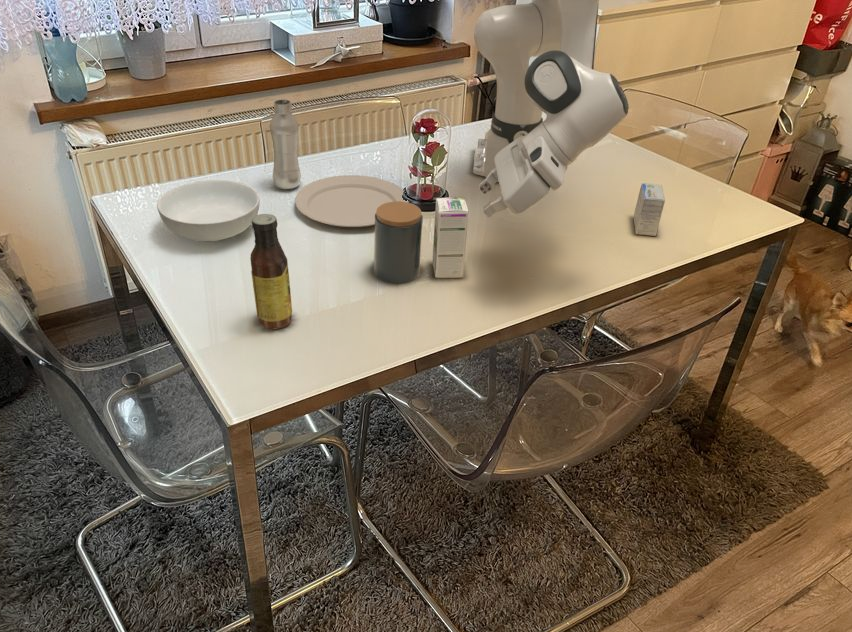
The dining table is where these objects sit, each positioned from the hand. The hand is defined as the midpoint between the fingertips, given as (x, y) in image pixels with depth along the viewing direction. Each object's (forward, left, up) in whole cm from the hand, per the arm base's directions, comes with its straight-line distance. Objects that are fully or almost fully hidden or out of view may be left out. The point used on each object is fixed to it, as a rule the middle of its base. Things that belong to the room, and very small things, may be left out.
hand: (483, 201), depth 136 cm
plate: (-28, -24, -15) cm, 40 cm away
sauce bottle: (+16, -39, -15) cm, 44 cm away
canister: (0, -16, -15) cm, 22 cm away
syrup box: (0, -6, -15) cm, 16 cm away
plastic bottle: (-39, -39, -15) cm, 57 cm away
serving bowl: (-18, -54, -15) cm, 59 cm away
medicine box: (-17, +40, -15) cm, 47 cm away
